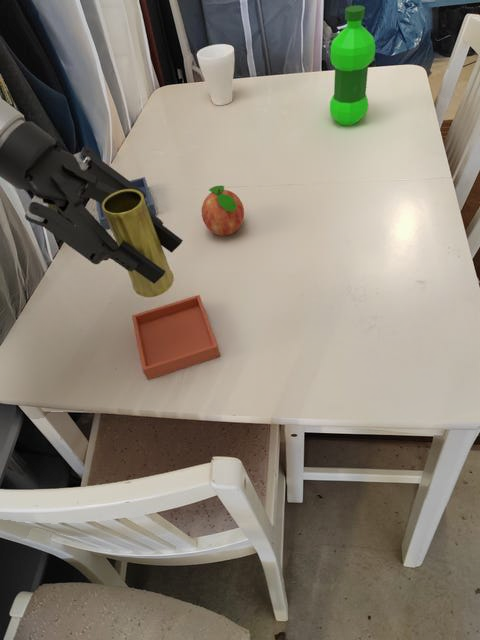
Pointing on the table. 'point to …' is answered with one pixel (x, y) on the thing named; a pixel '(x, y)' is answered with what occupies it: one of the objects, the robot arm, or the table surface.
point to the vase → (137, 237)
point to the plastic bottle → (351, 68)
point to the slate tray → (143, 186)
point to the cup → (218, 71)
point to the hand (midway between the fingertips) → (168, 261)
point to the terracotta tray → (174, 337)
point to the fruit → (222, 211)
